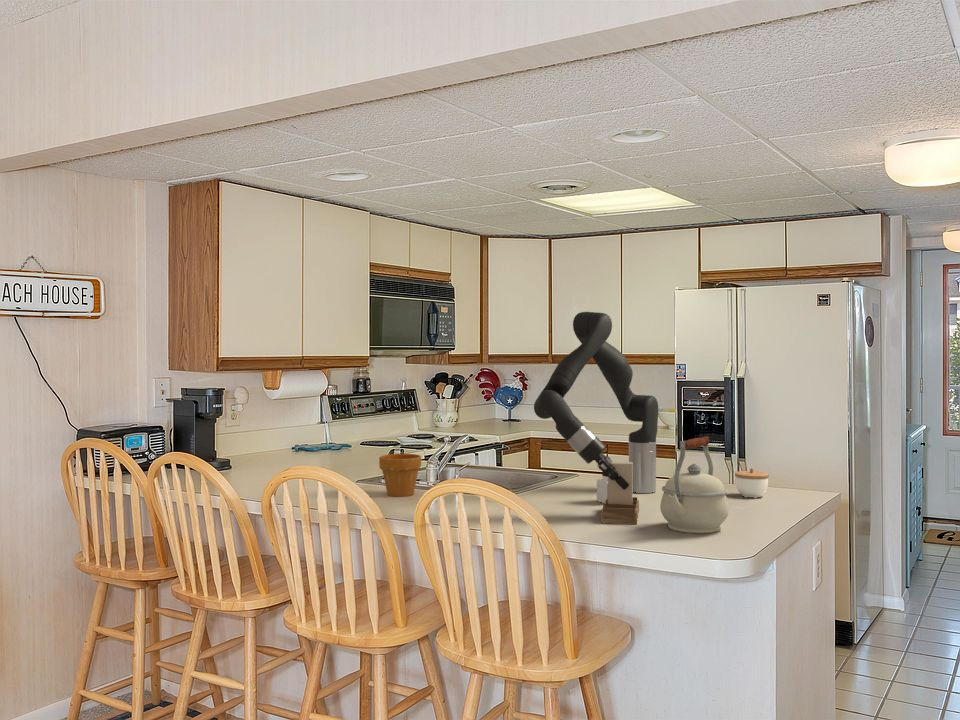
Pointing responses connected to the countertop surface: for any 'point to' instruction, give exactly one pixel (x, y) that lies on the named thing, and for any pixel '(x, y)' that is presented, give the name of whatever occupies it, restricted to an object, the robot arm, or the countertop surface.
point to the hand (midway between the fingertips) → (627, 486)
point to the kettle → (694, 495)
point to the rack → (620, 512)
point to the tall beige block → (614, 490)
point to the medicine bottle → (602, 488)
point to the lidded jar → (751, 483)
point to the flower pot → (400, 473)
